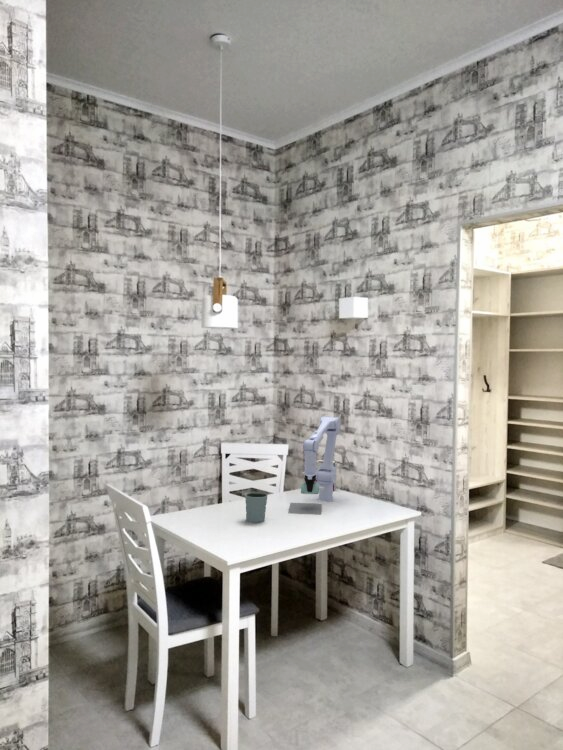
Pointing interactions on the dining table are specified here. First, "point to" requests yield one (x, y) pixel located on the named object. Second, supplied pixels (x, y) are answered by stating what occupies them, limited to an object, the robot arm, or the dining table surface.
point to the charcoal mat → (305, 508)
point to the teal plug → (314, 491)
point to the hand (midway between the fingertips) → (309, 490)
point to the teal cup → (255, 507)
